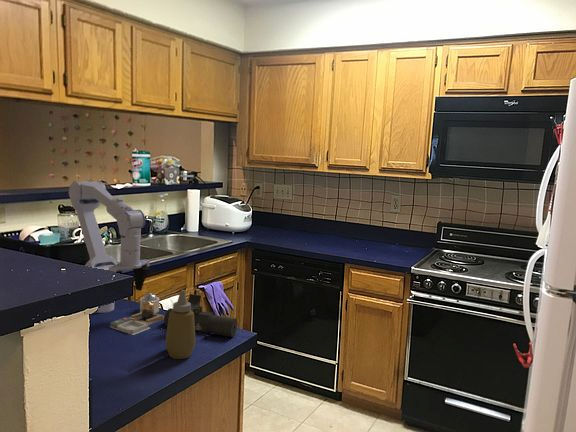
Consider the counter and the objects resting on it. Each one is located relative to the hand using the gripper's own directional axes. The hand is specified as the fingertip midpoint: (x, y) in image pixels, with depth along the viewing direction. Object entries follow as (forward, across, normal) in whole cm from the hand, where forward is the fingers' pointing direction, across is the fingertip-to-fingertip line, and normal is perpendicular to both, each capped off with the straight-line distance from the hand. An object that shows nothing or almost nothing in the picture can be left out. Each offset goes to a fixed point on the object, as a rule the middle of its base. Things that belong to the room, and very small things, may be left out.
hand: (129, 292), depth 147 cm
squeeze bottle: (+10, -8, -28) cm, 31 cm away
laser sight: (+10, +8, -21) cm, 25 cm away
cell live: (+9, +4, -4) cm, 11 cm away
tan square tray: (+10, +4, -4) cm, 11 cm away
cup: (+10, +10, +2) cm, 15 cm away
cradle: (+10, -4, -6) cm, 12 cm away
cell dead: (+9, +10, +2) cm, 14 cm away
